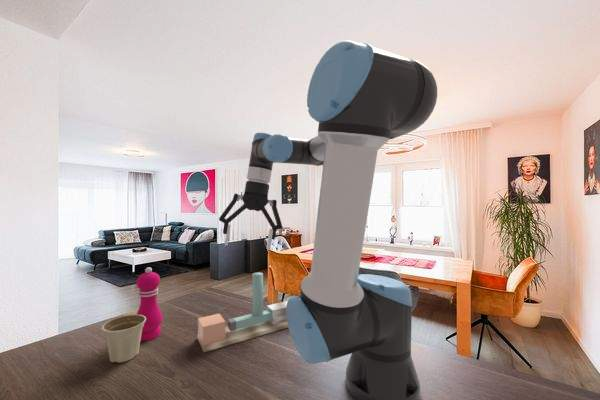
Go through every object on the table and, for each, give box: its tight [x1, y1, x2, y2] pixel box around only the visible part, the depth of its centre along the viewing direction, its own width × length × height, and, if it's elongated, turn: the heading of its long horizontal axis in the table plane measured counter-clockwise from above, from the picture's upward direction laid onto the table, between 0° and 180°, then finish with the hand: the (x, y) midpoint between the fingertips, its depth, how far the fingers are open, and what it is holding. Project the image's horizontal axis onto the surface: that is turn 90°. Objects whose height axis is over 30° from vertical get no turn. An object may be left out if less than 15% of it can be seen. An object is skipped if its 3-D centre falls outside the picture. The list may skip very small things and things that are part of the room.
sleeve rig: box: [196, 300, 289, 353], centre depth 81 cm, size 30×8×6 cm, turn 122°
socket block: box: [197, 313, 226, 346], centre depth 75 cm, size 6×6×5 cm
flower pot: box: [101, 314, 146, 364], centre depth 68 cm, size 9×9×9 cm
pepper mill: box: [135, 266, 163, 342], centre depth 78 cm, size 7×7×20 cm
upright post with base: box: [227, 271, 272, 331], centre depth 83 cm, size 21×3×15 cm, turn 122°
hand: (247, 246), depth 86 cm, fingers open, 13 cm apart
